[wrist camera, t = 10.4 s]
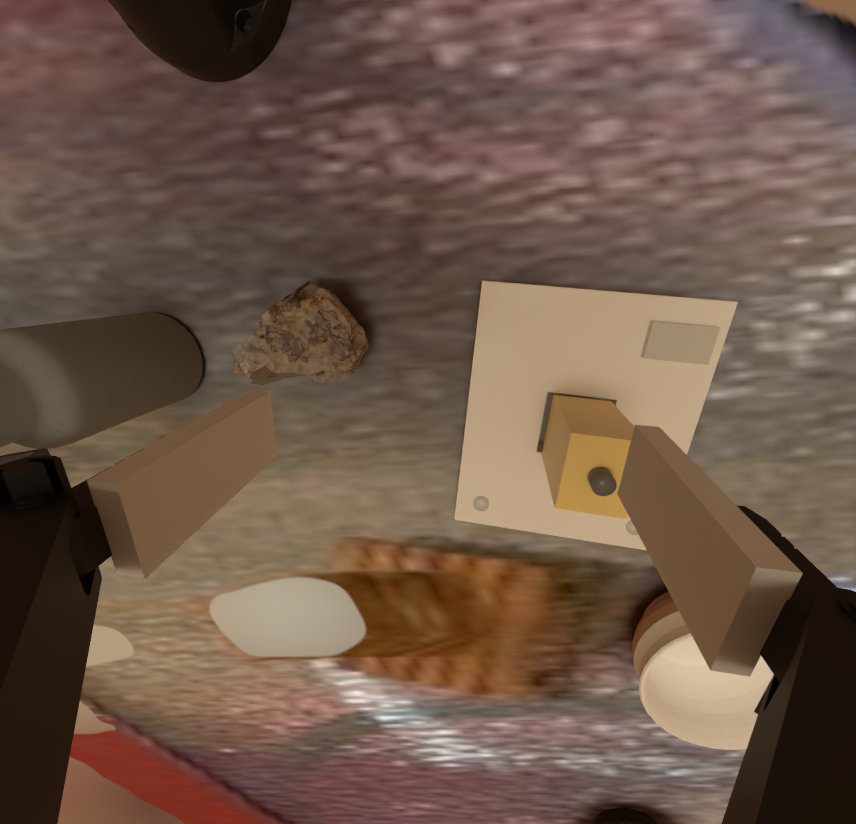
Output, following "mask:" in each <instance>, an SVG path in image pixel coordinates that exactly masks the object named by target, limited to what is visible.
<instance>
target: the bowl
mask: <svg viewBox="0 0 856 824" xmlns="http://www.w3.org/2000/svg"><path fill="white" fill-rule="evenodd" d="M632 656H633V662H634V663H633V664H634V669H635V673H636V676H637V678H638V680H639V693H640V698H641V702H642V704H643V706H644V708H645V709H646V711H647V713H648V714H649V715H650V716H651V717H652V719H653V720H654V721H655V722H656V723H657V724H658V725H659V726H661V727H662V728H663V729H664V730H666V731H667V732H668V733H670V734H672V735H674V736H676V737H678V738H680V739H682V740H685V741H687V742H690V743H693V744H696V745H700V746H705V747H709V748H715V749H727V750H741V749H747V746H748V743H749V740H750V737H751V734H752V731H753V728H754V725H755V722H756V719H757V716H758V714H757V713H755V712H754V710H755V709H756V707H757V705H758V703H759V701H760V699H761V698H762V696H763V694H764V692H765V690H766V688H767V686H768V685H769V683H770V681H771V679H772V677H773V675H774V674H773V672H772V671H771V670H770V668H769V667H768V665H767V664H766V662H765V661H764V659H763V658H762V656H760V658H759V660H758V662H757V664H756V666H755V668H754V670H753V672H752V674H751V676H750V677H748V676H742V675H736V674H730V673H724V672H717V671H711V670H710V669H709V667H708V665H707V663H706V661H705V660H704V658H703V656H702V654H701V652H700V650H699V648H698V646H697V644H696V642H695V641H694V639H693V637H692V635H691V633H690V631H689V629H688V627H687V625H686V624H685V622H684V620H683V618H682V616H681V614H680V612H679V610H678V608H677V606H676V605H675V603H674V601H673V599H672V597H671V595H670V593H669V592H667V593H665V594H663V595H661V596H659V597H658V598H656V599H655V600H654V601H653V602H652V603H651V604H650V605H649V606H648V607H647V609H646V610H645V612H644V614H643V617H642V618H641V620H640V622H639V623H638V625H637V628H636V631H635V634H634V638H633V642H632Z"/></svg>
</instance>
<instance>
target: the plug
mask: <svg viewBox="0 0 856 824" xmlns="http://www.w3.org/2000/svg"><path fill="white" fill-rule="evenodd" d="M633 431H634V426H633V424H632V423H631V422H630V421H629V420H628V419H627V418H626V417H625V416H624V414H623V413H622V412H621V411H620V410H619V409H618V408H617V407H616V406H615V404H614V403H613V402H612V401H603V400H595V399H586V398H578V397H569V396H560V395H553V399H552V404H551V409H550V414H549V419H548V424H547V430H546V435H545V440H544V445H543V450H542V459H543V463H544V467H545V471H546V475H547V479H548V483H549V487H550V491H551V495H552V499H553V503H554V507H555V508H556V509H563V510H570V511H576V512H583V513H589V514H596V515H603V516H609V517H616V518H622V519H627V516H628V513H627V512H626V510H625V508H624V506H623V504H622V502H621V500H620V498H619V496H618V495H617V493H618V489H619V485H620V481H621V478H622V474H623V470H624V466H625V462H626V458H627V454H628V450H629V447H630V443H631V439H632V435H633Z"/></svg>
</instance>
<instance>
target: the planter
mask: <svg viewBox="0 0 856 824" xmlns="http://www.w3.org/2000/svg"><path fill="white" fill-rule="evenodd" d="M594 824H657V823H656V822H655V821H654V820H653V819H652V818H650V817H649V816H647V815H645V814H643V813H641V812H638V811H635V810H630V809H612V810H608V811H605V812H603V813H601V814H600V815H599V816H598V817H597V818H596V820H595V822H594Z"/></svg>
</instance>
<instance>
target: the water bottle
mask: <svg viewBox="0 0 856 824" xmlns="http://www.w3.org/2000/svg"><path fill="white" fill-rule="evenodd" d="M202 374H203V361H202V356H201V352H200V349H199V347H198V345H197V343H196V341H195V339H194V338H193V337H192V335H191V334H190V333H189V332H188V330H187V329H186V328H185V327H183V326H182V325H181V324H180V323H178V322H177V321H175V320H174V319H172V318H170V317H168V316H165V315H162V314H158V313H150V312H149V313H140V314H132V315H123V316H114V317H105V318H97V319H88V320H79V321H71V322H62V323H53V324H44V325H36V326H27V327H18V328H10V329H2V330H0V447H1V446H4V445H7V444H10V443H16V444H19V445H22V446H26V447H31V448H37V449H38V450H32V451H26V452H20V453H14V454H8V455H3V456H0V465H2V464H5V463H8V462H11V461H14V460H18V459H22V458H27V457H33V456H43V455H47V456H51V455H50V453H49V452H48V450H47V449H52V448H58V447H61V446H64V445H68V444H71V443H74V442H76V441H79V440H81V439H84V438H86V437H89V436H91V435H94V434H96V433H99V432H101V431H103V430H106V429H108V428H111V427H113V426H116V425H118V424H121V423H123V422H126V421H128V420H131V419H133V418H136V417H138V416H141V415H143V414H146V413H148V412H151V411H153V410H156V409H158V408H161V407H163V406H166V405H168V404H171V403H173V402H176V401H178V400H181V399H183V398H185V397H187V396H188V395H190V394H191V393H192V392H193V391H194V390H195V389H196V388H197V386H198V385H199V383H200V380H201V377H202Z"/></svg>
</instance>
